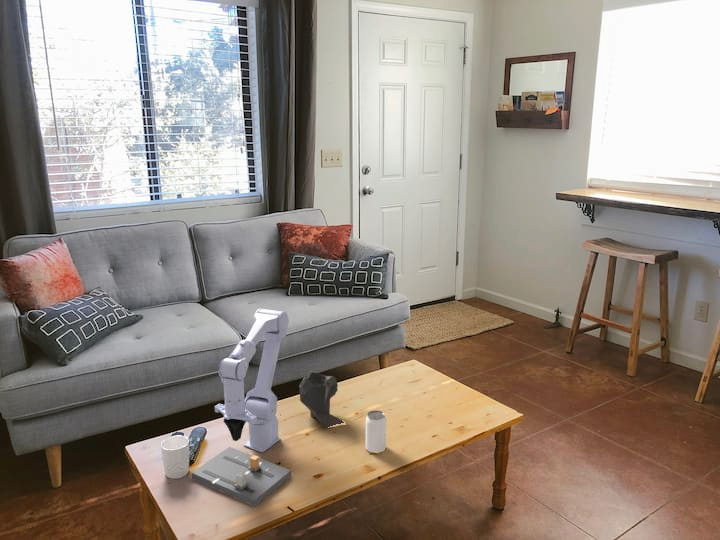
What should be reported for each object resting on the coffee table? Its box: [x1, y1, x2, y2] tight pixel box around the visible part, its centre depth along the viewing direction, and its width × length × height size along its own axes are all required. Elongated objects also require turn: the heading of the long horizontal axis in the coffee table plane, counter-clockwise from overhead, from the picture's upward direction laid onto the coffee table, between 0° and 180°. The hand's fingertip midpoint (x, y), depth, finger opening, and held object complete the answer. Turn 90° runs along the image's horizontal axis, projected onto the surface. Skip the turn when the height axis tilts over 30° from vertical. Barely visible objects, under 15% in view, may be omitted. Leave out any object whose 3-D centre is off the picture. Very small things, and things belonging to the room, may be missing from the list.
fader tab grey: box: [234, 472, 249, 490], centre depth 165 cm, size 3×3×4 cm
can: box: [365, 410, 387, 453], centre depth 187 cm, size 6×6×12 cm
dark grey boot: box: [298, 369, 344, 429], centre depth 205 cm, size 14×15×18 cm
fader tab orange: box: [248, 454, 262, 472], centre depth 173 cm, size 3×3×4 cm
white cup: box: [160, 434, 190, 480], centre depth 174 cm, size 8×8×10 cm
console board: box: [190, 446, 292, 507], centre depth 173 cm, size 16×24×2 cm
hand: (236, 439), depth 175 cm, fingers closed
